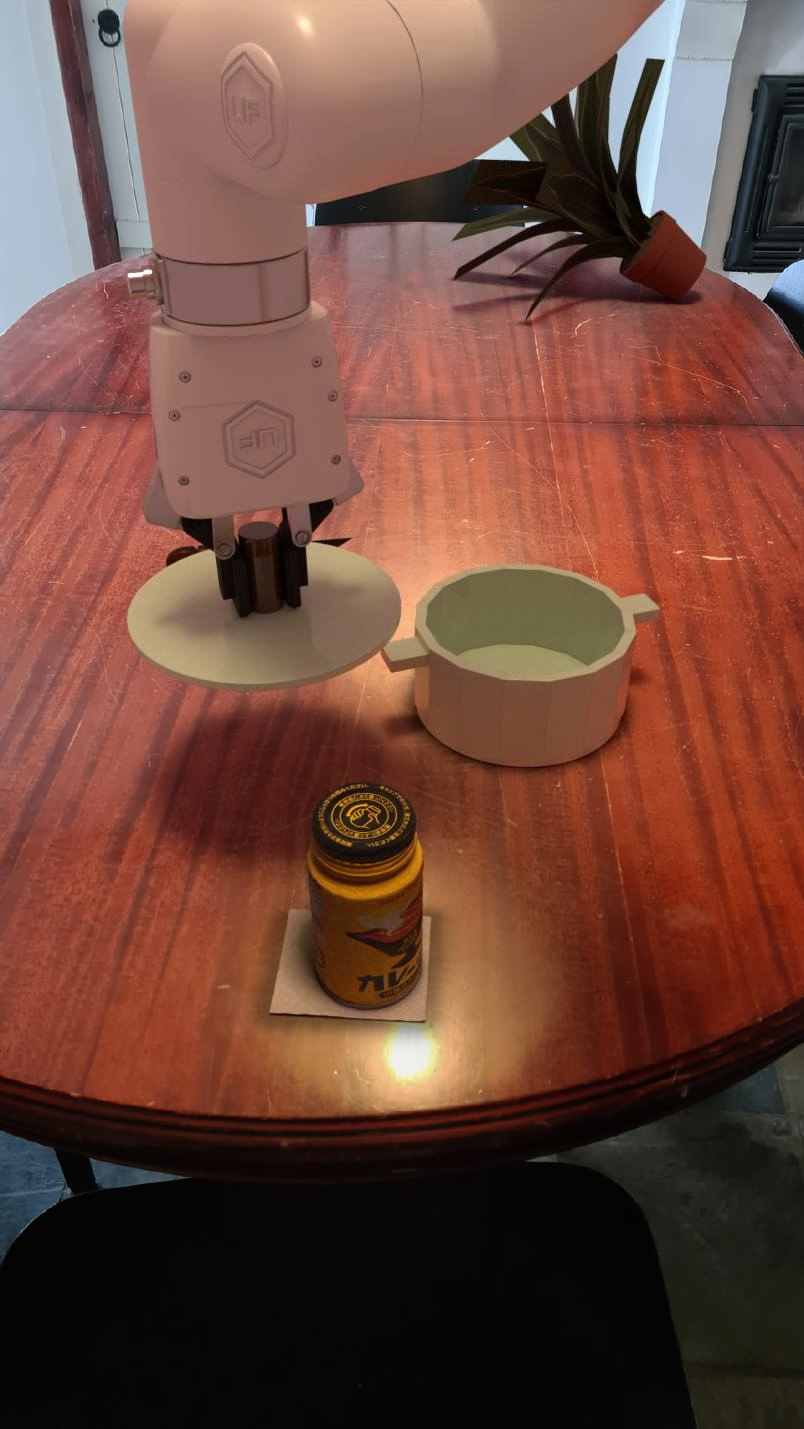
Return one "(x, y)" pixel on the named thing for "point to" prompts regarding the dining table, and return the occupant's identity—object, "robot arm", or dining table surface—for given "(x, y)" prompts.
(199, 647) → the lid
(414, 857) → the condiment
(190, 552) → the knife
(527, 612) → the pot
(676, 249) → the potted plant
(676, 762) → the dining table surface
